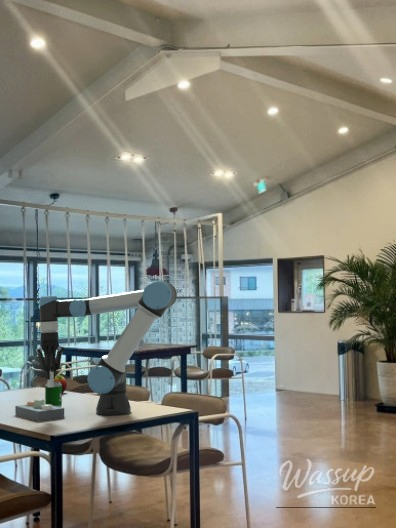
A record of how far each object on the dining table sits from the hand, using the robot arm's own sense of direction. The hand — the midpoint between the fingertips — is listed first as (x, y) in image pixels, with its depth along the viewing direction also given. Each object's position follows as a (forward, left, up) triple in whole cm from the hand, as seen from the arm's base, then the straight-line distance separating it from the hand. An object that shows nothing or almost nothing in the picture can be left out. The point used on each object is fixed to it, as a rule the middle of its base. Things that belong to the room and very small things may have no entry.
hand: (50, 387), depth 281 cm
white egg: (-1, +2, -12) cm, 13 cm away
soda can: (+22, -13, -13) cm, 29 cm away
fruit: (+70, -40, -13) cm, 82 cm away
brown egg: (+13, +2, -12) cm, 18 cm away
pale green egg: (+6, +2, -11) cm, 13 cm away
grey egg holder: (+6, +2, -13) cm, 14 cm away
